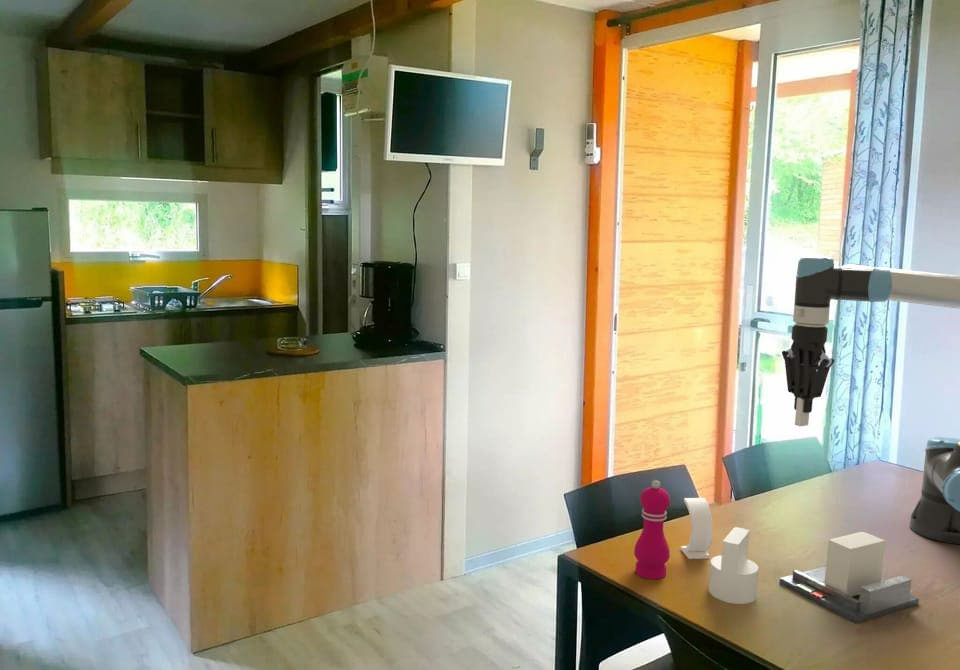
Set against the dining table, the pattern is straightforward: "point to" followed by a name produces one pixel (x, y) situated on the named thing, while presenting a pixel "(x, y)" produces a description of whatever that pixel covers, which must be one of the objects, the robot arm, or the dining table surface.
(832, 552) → the white block
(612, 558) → the dining table surface
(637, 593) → the dining table surface
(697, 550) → the headphone stand
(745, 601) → the base with upright slab
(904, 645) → the dining table surface
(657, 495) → the pepper mill
